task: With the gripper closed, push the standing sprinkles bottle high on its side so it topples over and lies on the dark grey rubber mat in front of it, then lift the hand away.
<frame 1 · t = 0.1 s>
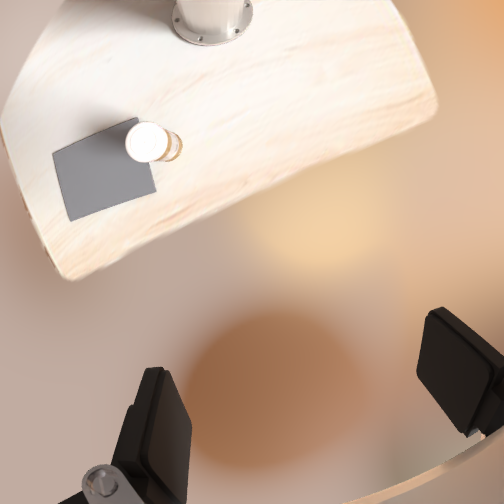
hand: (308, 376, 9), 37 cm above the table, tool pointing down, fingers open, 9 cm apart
sprinkles bottle: (168, 147, 41), on the table
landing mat: (101, 170, 41), on the table
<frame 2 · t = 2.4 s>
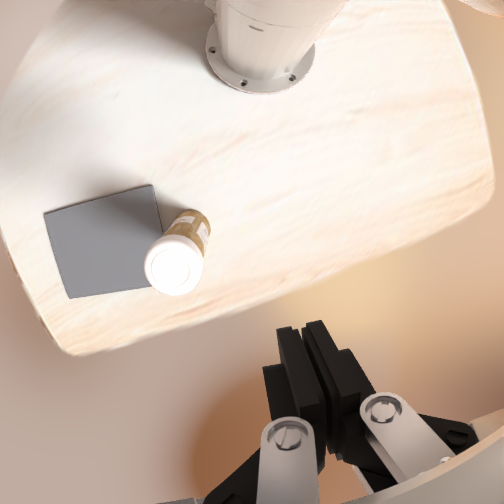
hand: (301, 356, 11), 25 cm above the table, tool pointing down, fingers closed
sprinkles bottle: (191, 228, 35), on the table
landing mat: (105, 246, 34), on the table
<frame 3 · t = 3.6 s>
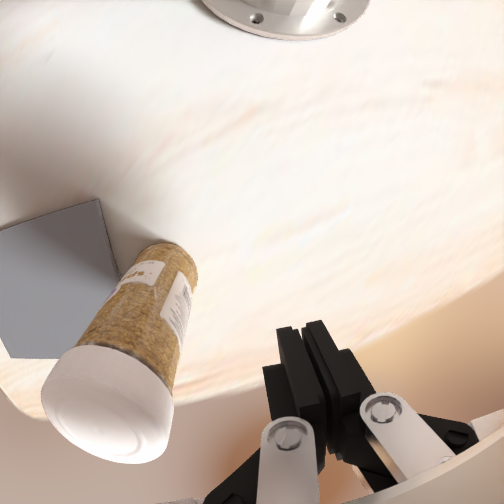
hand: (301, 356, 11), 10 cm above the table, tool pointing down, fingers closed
sprinkles bottle: (166, 272, 20), on the table
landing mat: (41, 294, 20), on the table
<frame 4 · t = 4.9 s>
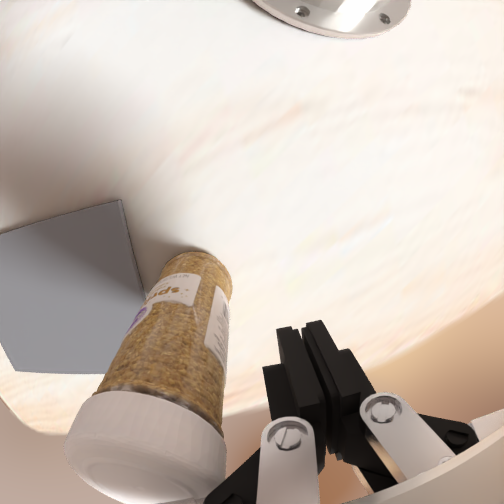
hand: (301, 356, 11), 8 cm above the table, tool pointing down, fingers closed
sprinkles bottle: (196, 283, 18), on the table, touching gripper
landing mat: (50, 304, 18), on the table
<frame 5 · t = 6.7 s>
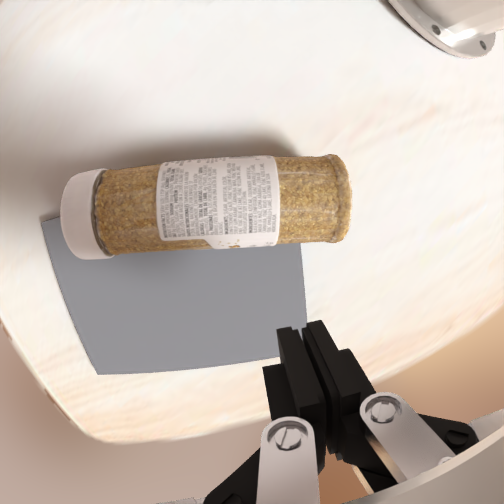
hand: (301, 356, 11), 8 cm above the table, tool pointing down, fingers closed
sprinkles bottle: (342, 197, 14), point 3 cm above the table, touching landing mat
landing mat: (173, 288, 18), on the table
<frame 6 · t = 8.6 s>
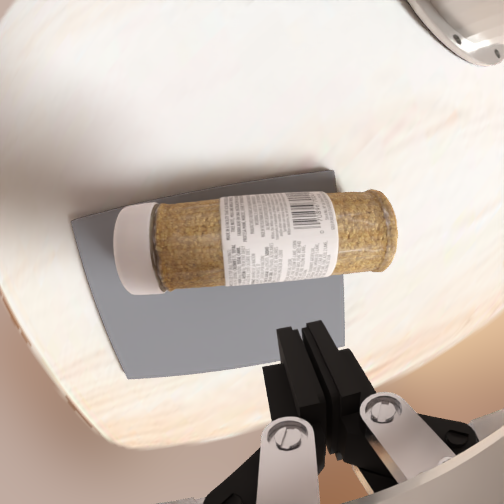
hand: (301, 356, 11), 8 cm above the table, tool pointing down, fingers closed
sprinkles bottle: (383, 230, 15), point 3 cm above the table, touching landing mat
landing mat: (214, 287, 18), on the table
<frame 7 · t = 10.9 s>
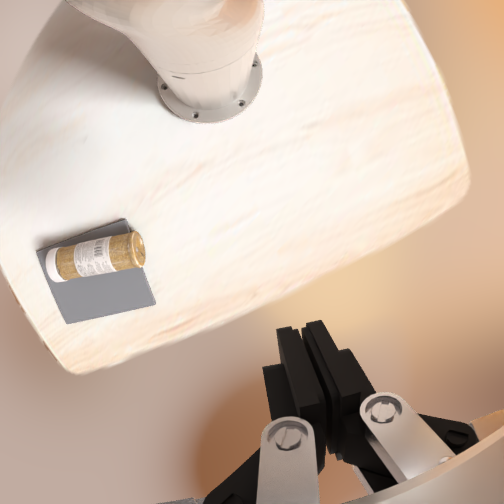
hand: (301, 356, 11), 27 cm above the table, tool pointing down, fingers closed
sprinkles bottle: (141, 248, 34), point 3 cm above the table, touching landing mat
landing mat: (92, 276, 37), on the table
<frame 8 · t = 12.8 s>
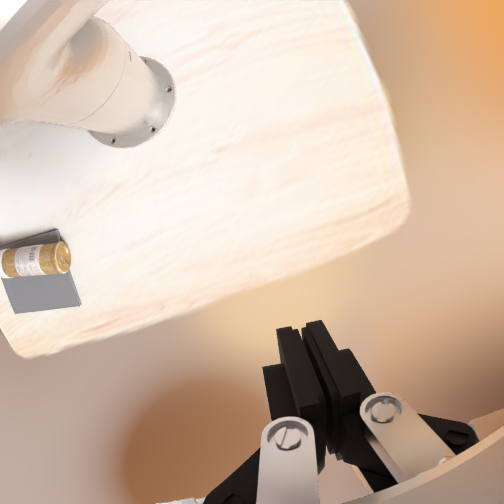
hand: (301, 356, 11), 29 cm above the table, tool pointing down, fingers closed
sprinkles bottle: (65, 257, 35), point 3 cm above the table, touching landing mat
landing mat: (33, 275, 38), on the table
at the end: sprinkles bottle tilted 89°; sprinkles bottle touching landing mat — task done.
